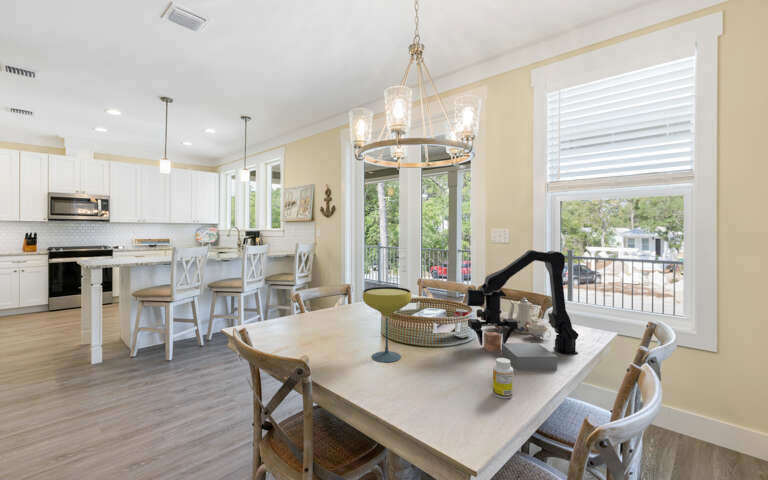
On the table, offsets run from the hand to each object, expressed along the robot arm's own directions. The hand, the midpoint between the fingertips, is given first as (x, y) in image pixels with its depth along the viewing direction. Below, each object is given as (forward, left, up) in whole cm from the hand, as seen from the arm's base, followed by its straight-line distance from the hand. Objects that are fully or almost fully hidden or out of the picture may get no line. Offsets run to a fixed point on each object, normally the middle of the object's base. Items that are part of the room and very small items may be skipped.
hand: (492, 345), depth 139 cm
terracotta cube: (0, 0, -2) cm, 2 cm away
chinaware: (-22, -22, -2) cm, 31 cm away
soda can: (+8, -16, -2) cm, 18 cm away
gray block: (-8, +14, -2) cm, 16 cm away
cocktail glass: (+43, +7, -2) cm, 44 cm away
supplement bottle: (+11, +38, -2) cm, 40 cm away
